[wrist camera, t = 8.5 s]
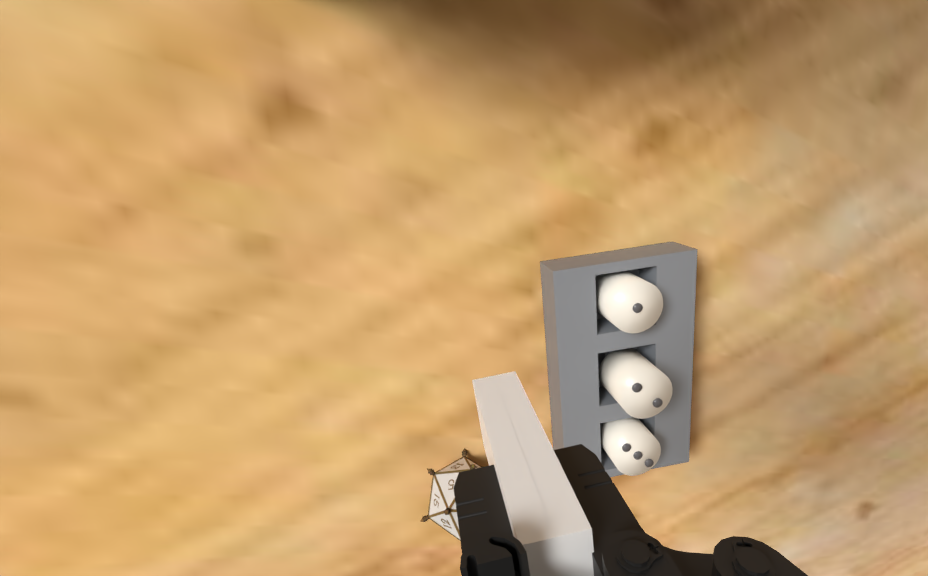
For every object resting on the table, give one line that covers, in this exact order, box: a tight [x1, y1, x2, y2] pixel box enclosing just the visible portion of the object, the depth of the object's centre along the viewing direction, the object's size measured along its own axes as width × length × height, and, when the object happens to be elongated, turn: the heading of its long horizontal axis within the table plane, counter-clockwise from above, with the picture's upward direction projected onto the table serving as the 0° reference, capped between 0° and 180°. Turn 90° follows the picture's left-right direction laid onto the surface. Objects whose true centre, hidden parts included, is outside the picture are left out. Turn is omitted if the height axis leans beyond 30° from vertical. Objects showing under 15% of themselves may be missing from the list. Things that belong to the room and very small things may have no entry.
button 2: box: [598, 348, 673, 419], centre depth 43 cm, size 5×5×5 cm
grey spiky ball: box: [421, 449, 481, 549], centre depth 46 cm, size 9×8×10 cm
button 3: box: [600, 417, 661, 476], centre depth 47 cm, size 5×5×5 cm
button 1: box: [595, 271, 663, 333], centre depth 42 cm, size 5×5×5 cm
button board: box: [540, 242, 697, 477], centre depth 46 cm, size 24×14×4 cm, turn 7°
